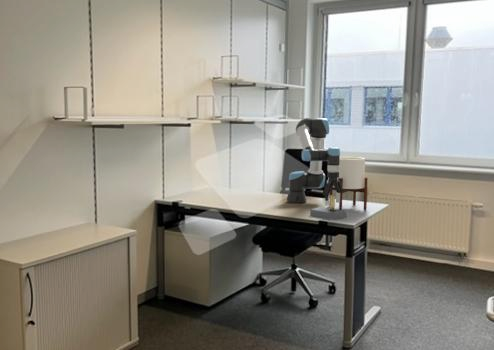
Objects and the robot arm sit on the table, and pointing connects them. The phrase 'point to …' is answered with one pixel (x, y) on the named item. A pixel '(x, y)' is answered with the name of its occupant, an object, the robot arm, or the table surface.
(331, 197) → the brass peg
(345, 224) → the table surface
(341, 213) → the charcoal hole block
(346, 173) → the plant pot with stand
